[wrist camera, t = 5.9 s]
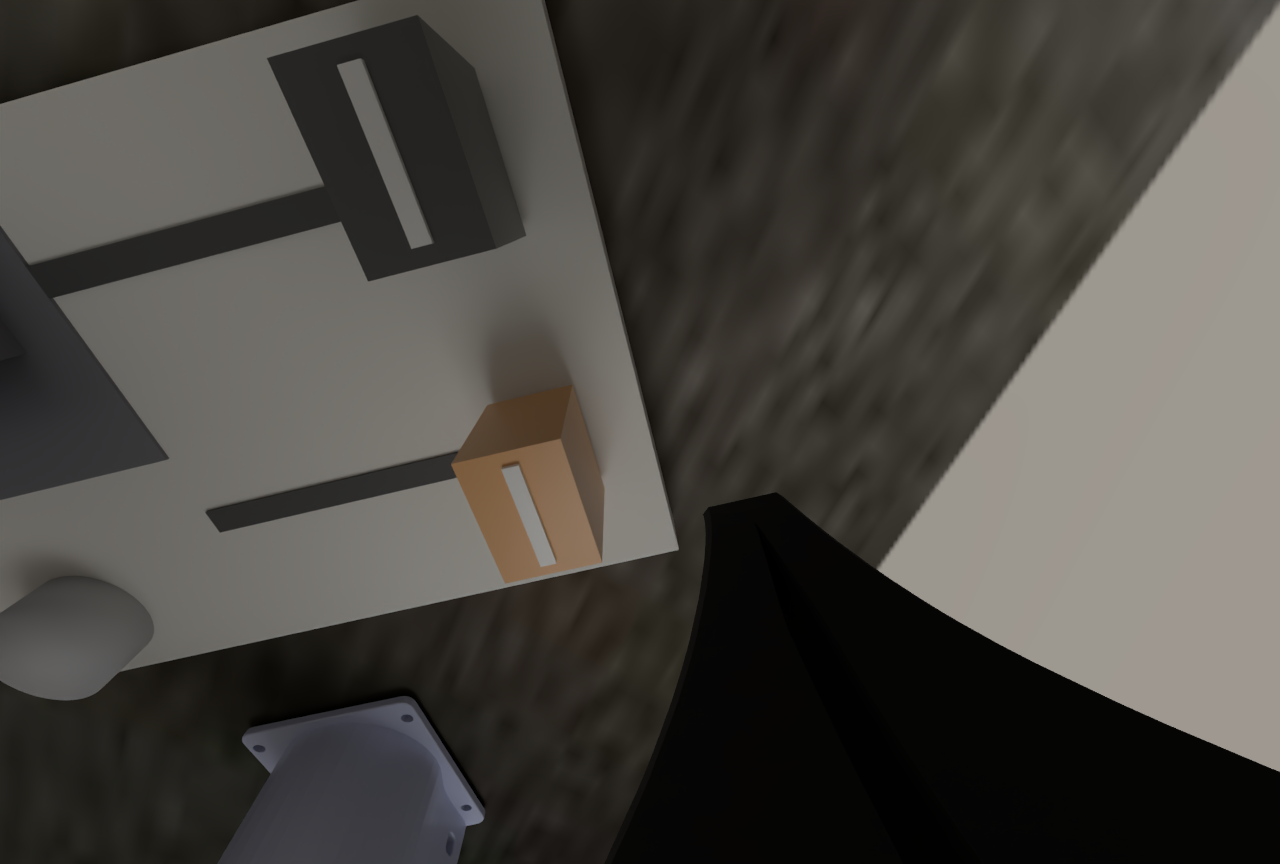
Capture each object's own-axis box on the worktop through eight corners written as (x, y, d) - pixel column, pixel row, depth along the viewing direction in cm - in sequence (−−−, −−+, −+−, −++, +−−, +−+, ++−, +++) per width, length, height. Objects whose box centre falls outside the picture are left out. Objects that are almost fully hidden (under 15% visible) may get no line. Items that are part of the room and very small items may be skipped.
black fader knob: (526, 235, 12) (495, 249, 9) (430, 260, 13) (365, 282, 9) (474, 68, 11) (414, 12, 8) (366, 97, 11) (262, 56, 8)
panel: (672, 516, 19) (685, 586, 16) (93, 644, 20) (-13, 735, 17) (541, -13, 12) (513, -96, 9) (-311, 231, 14) (-625, 242, 10)
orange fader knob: (604, 488, 16) (601, 565, 12) (527, 505, 16) (504, 586, 12) (572, 384, 14) (559, 440, 11) (487, 404, 14) (449, 466, 11)
